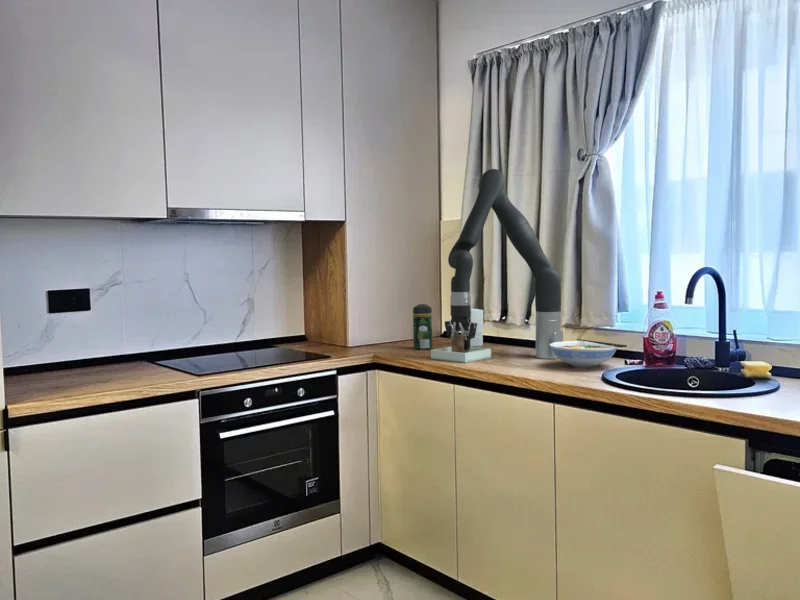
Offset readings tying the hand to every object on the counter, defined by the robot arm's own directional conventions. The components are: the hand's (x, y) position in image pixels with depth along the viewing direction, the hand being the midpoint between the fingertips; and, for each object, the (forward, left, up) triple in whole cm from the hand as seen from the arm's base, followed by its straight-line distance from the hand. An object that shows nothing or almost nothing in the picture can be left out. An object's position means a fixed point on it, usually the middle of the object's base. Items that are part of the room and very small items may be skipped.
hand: (460, 349), depth 256 cm
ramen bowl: (-44, -11, -4) cm, 46 cm away
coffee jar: (+30, -13, -4) cm, 33 cm away
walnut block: (0, 0, -1) cm, 1 cm away
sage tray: (0, 0, -3) cm, 3 cm away
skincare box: (+20, -34, -4) cm, 39 cm away
